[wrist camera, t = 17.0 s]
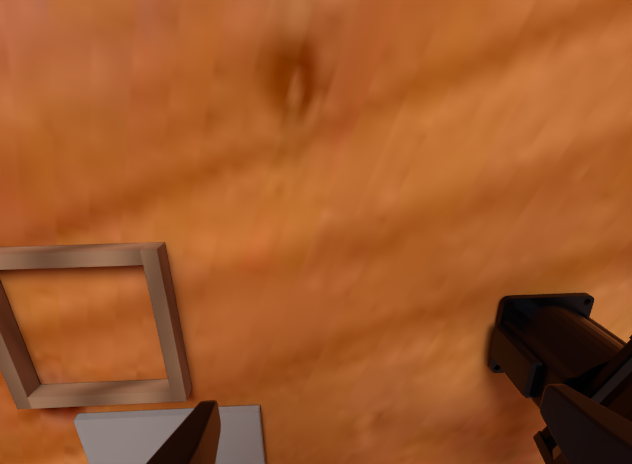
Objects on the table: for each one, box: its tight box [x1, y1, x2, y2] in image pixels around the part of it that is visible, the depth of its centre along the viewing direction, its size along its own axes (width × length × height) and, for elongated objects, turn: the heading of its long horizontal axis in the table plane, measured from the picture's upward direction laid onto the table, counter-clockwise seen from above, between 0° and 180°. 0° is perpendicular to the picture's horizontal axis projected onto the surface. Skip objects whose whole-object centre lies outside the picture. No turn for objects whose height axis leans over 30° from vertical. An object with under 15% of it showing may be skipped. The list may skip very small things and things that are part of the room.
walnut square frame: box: [0, 242, 192, 409], centre depth 22 cm, size 12×12×1 cm
